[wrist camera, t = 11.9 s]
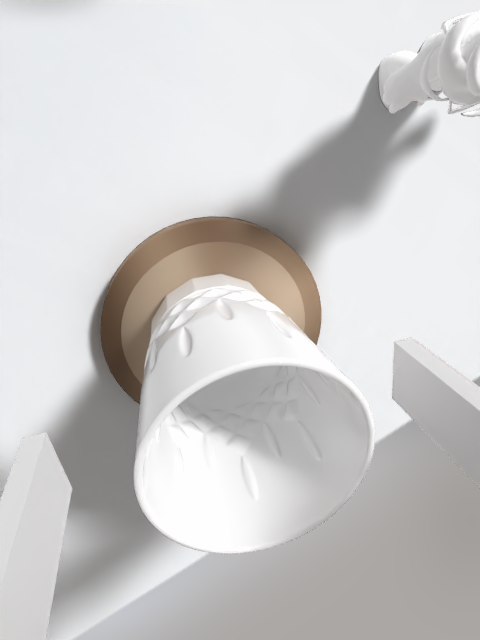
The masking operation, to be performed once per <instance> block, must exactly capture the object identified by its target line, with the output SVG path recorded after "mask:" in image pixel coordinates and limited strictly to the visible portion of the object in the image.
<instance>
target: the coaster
mask: <svg viewBox="0 0 480 640" xmlns="http://www.w3.org/2000/svg"><path fill="white" fill-rule="evenodd" d="M216 274H224V275H228V276H231V277H234V278H238V279H241V280H245V281H248V282H250V283H251V284H252V285H253V286H254V287H255V288H256V289H257V290H258V291H259V292H260V293H261V294H262V295H263V296H264V297H265V298H266V299H267V300H268V301H270V302H272V303H274V304H275V305H276V306H277V307H278V308H279V309H280V310H281V311H282V312H283V313H285V314H286V315H287V316H288V317H289V318H290V319H291V320H292V321H293V322H294V323H295V324H296V325H297V326H298V327H299V328H300V329H301V330H302V331H303V332H304V333H305V334H306V335H307V336H308V338H309V339H310V340H311V341H312V342H313V343H314V344H315V345H317V341H318V337H319V333H320V326H321V304H320V296H319V293H318V289H317V286H316V283H315V281H314V278H313V276H312V274H311V272H310V270H309V269H308V267H307V266H306V264H305V262H304V261H303V260H302V259H301V257H300V256H299V255H298V254H297V253H296V252H295V251H294V250H293V249H292V248H291V247H290V246H289V245H288V244H286V243H285V242H284V241H283V240H281V239H280V238H279V237H277V236H276V235H274V234H273V233H271V232H269V231H268V230H266V229H264V228H262V227H260V226H258V225H256V224H253V223H250V222H247V221H243V220H240V219H235V218H228V217H202V218H194V219H190V220H186V221H182V222H178V223H176V224H173V225H171V226H168V227H166V228H163V229H162V230H160V231H158V232H156V233H155V234H153V235H151V236H150V237H148V238H147V239H146V240H144V241H143V242H142V243H141V244H139V245H138V246H137V247H136V248H135V249H134V250H133V251H132V252H131V253H130V254H129V255H128V256H127V257H126V259H125V260H124V261H123V263H122V264H121V265H120V267H119V268H118V270H117V272H116V273H115V275H114V277H113V279H112V281H111V283H110V286H109V289H108V291H107V294H106V298H105V302H104V306H103V311H102V316H101V331H100V332H101V342H102V348H103V352H104V356H105V359H106V362H107V364H108V366H109V369H110V371H111V373H112V374H113V376H114V378H115V379H116V381H117V382H118V384H119V385H120V386H121V387H122V388H123V390H124V391H125V392H126V393H127V394H128V395H129V396H130V397H132V398H133V399H134V400H135V401H136V402H138V403H139V404H140V399H141V387H142V381H143V374H144V366H145V359H146V352H147V349H148V346H149V343H150V338H151V322H152V318H153V317H154V315H155V313H156V312H157V310H158V308H159V307H160V305H161V303H162V302H163V300H164V298H165V297H166V295H167V294H169V293H170V292H172V291H173V290H175V289H176V288H178V287H179V286H181V285H182V284H184V283H185V282H187V281H188V280H190V279H192V278H197V277H203V276H210V275H216Z"/></svg>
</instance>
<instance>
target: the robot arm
mask: <svg viewBox="0 0 480 640" xmlns="http://www.w3.org/2000/svg"><path fill="white" fill-rule="evenodd" d="M392 399H393V400H394V401H395V402H396V403H397V404H398V405H399V406H400V407H401V408H402V409H403V410H404V411H405V412H406V413H407V414H408V415H409V416H410V417H411V418H412V419H413V420H414V421H415V422H416V423H417V424H418V425H419V426H420V427H421V428H422V429H423V431H424V432H425V433H427V435H428V436H429V437H430V438H431V439H432V440H433V441H434V442H435V443H436V444H437V445H438V446H439V447H440V448H441V449H442V450H443V451H444V452H445V453H446V454H447V455H448V456H449V457H450V458H451V459H452V460H453V461H454V462H455V464H456V465H457V466H458V467H459V468H461V470H462V471H463V472H464V473H465V474H466V475H467V476H468V477H469V478H470V479H471V480H472V481H473V482H474V483H475V484H476V485H477V486H478V487H479V488H480V387H479V386H477V385H476V384H475V383H473V382H472V381H470V380H469V379H468V378H466V377H465V376H464V375H462V374H461V373H460V372H458V371H457V370H456V369H454V368H453V367H452V366H450V365H449V364H447V363H446V362H445V361H443V360H442V359H441V358H439V357H438V356H437V355H435V354H434V353H433V352H431V351H430V350H429V349H427V348H426V347H424V346H423V345H422V344H420V343H419V342H418V341H416V340H415V339H414V338H412V337H411V338H407V339H403V340H399V341H395V342H394V360H393V387H392ZM71 493H72V486H71V484H70V482H69V480H68V478H67V475H66V473H65V471H64V469H63V467H62V465H61V463H60V461H59V458H58V456H57V454H56V452H55V450H54V448H53V446H52V443H51V441H50V439H49V437H48V435H47V433H46V432H44V433H40V434H36V435H32V436H28V437H24V438H23V439H22V441H21V444H20V447H19V450H18V452H17V455H16V458H15V460H14V463H13V466H12V469H11V471H10V474H9V477H8V480H7V482H6V485H5V488H4V491H3V493H2V496H1V499H0V640H46V637H47V631H48V625H49V619H50V614H51V608H52V602H53V596H54V591H55V585H56V579H57V573H58V568H59V562H60V556H61V550H62V545H63V539H64V533H65V527H66V522H67V516H68V510H69V505H70V499H71Z"/></svg>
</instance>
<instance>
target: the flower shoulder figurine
mask: <svg viewBox="0 0 480 640" xmlns="http://www.w3.org/2000/svg"><path fill="white" fill-rule="evenodd" d="M459 19H461V20H460V21H457V22H454V23H453V25H454V26H453V27H452V28H451V29H450V30H448V29H447V26H448V25H449V24H450V23H451V22H453V21H456V20H459ZM441 29H442V30H443V32H441V33H437V34H434V35H432V36H430V37H429V38H427V40H426V41H425V42H424V43H423V45H422V47H421V50H420V52H419V53H418V54H416V53H413V52H410V51H401V52H396V53H393V54H390V55H388V56H387V57H385V58H384V59H383V61H382V62H381V64H380V67H379V74H378V78H379V93H380V97H381V100H382V102H383V104H384V106H385V107H386V108H388V109H389V112H390V113H391V114H394V113H396V112H397V111H398V110H401V109H404V108H405V107H407V106H408V105H409V103H410V102H411V101H418V105H420V106H421V105H423V104H424V102H425V101H426V100H427V98H428V96H429V97H430V98H432V99H434V100H436V101H447V100H449V109H448V114H453V113H457V112H460V111H463V110H465V109H467V108H470V107H472V106H474V105H477V104H479V103H480V10H478V11H476V12H473V13H468V14H464V15H460V16H457V17H454V18H451V19H449V20H447V21H445V22H444V23H443V24H442V25H441ZM432 90H434V91H442V90H443V93H444V94H445V95H446V96H447V97H448V98H445V99H441V98H440V97H438V96H437V95H435V93H434V92H433V91H432ZM452 103H453V104H459V105H463V106H461V107H458V108H456V109H453V110H451V106H452ZM461 115H463V116H468V117H475V116H480V108H479V109H477V110H473V111H469V112H464V113H461Z"/></svg>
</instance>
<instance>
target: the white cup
mask: <svg viewBox="0 0 480 640" xmlns="http://www.w3.org/2000/svg"><path fill="white" fill-rule="evenodd" d="M374 445H375V426H374V420H373V416H372V413H371V410H370V407H369V405H368V403H367V401H366V399H365V398H364V396H363V395H362V393H361V392H360V391H359V390H358V388H357V387H356V386H355V385H354V384H353V383H352V382H351V381H350V380H349V379H348V378H347V377H346V376H345V375H344V374H343V373H342V372H341V371H340V370H339V369H338V368H337V367H336V366H335V365H334V364H333V363H332V361H331V360H330V359H329V358H328V357H327V356H326V355H325V354H324V353H323V352H322V351H321V350H320V349H319V348H318V347H317V346H316V345H315V344H314V343H313V342H312V341H311V340H310V339H309V338H308V336H307V335H306V334H305V333H304V332H303V331H302V330H301V329H300V328H299V327H298V326H297V325H296V324H295V323H294V322H293V321H292V320H291V319H290V318H289V317H288V316H287V315H286V314H285V313H283V312H282V311H281V310H280V309H279V308H278V307H277V306H276V305H275V304H274V303H272V302H270V301H268V300H267V299H266V298H265V297H264V296H263V295H262V294H261V293H260V292H259V291H258V290H257V289H256V288H255V287H254V286H253V285H252V284H251V283H250V282H248V281H245V280H241V279H238V278H234V277H231V276H228V275H224V274H216V275H210V276H203V277H197V278H192V279H190V280H188V281H187V282H185V283H184V284H182V285H181V286H179V287H178V288H176V289H175V290H173V291H172V292H170V293H169V294H167V295H166V297H165V298H164V300H163V302H162V303H161V305H160V307H159V308H158V310H157V312H156V313H155V315H154V317H153V318H152V322H151V338H150V343H149V346H148V349H147V352H146V359H145V366H144V374H143V381H142V387H141V399H140V411H139V422H138V432H137V443H136V453H135V463H134V488H135V493H136V497H137V500H138V503H139V505H140V507H141V509H142V511H143V513H144V515H145V516H146V518H147V519H148V520H149V521H150V523H151V524H152V525H153V526H154V527H155V528H156V529H157V530H158V531H160V532H161V533H162V534H163V535H165V536H166V537H168V538H169V539H171V540H173V541H175V542H177V543H179V544H181V545H183V546H186V547H189V548H192V549H195V550H199V551H204V552H210V553H220V554H238V553H248V552H255V551H260V550H264V549H268V548H272V547H275V546H278V545H281V544H284V543H287V542H289V541H292V540H294V539H296V538H298V537H300V536H302V535H304V534H306V533H308V532H310V531H311V530H313V529H315V528H316V527H317V526H319V525H320V524H322V523H323V522H325V521H326V520H327V519H329V518H330V517H331V516H332V515H334V514H335V513H336V512H337V511H338V510H339V509H340V508H341V507H342V506H343V505H344V504H345V503H346V502H347V501H348V500H349V499H350V497H351V496H352V495H353V493H354V492H355V491H356V489H357V488H358V486H359V485H360V483H361V482H362V480H363V478H364V476H365V474H366V472H367V470H368V468H369V465H370V462H371V459H372V456H373V451H374Z"/></svg>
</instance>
